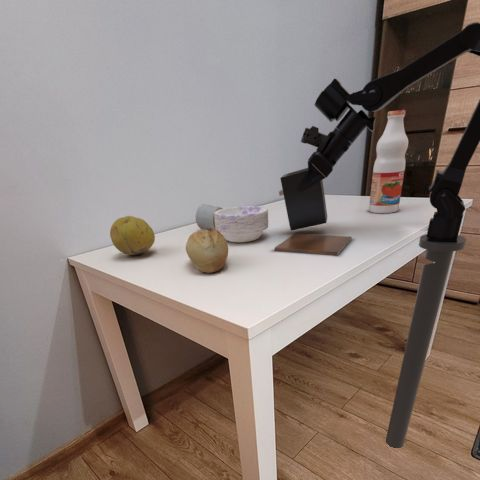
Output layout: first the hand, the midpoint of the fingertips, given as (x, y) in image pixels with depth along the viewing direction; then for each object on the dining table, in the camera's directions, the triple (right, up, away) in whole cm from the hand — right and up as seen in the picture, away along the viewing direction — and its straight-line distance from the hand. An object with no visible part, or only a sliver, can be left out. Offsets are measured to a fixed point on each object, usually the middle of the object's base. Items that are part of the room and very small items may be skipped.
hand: (300, 188), depth 93 cm
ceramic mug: (-25, -4, +19) cm, 32 cm away
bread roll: (-24, -24, -12) cm, 36 cm away
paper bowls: (-16, -12, +6) cm, 21 cm away
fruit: (-45, -18, +1) cm, 49 cm away
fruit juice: (+32, +3, +23) cm, 39 cm away
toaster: (+3, -8, +4) cm, 10 cm away
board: (+3, -17, -5) cm, 18 cm away
